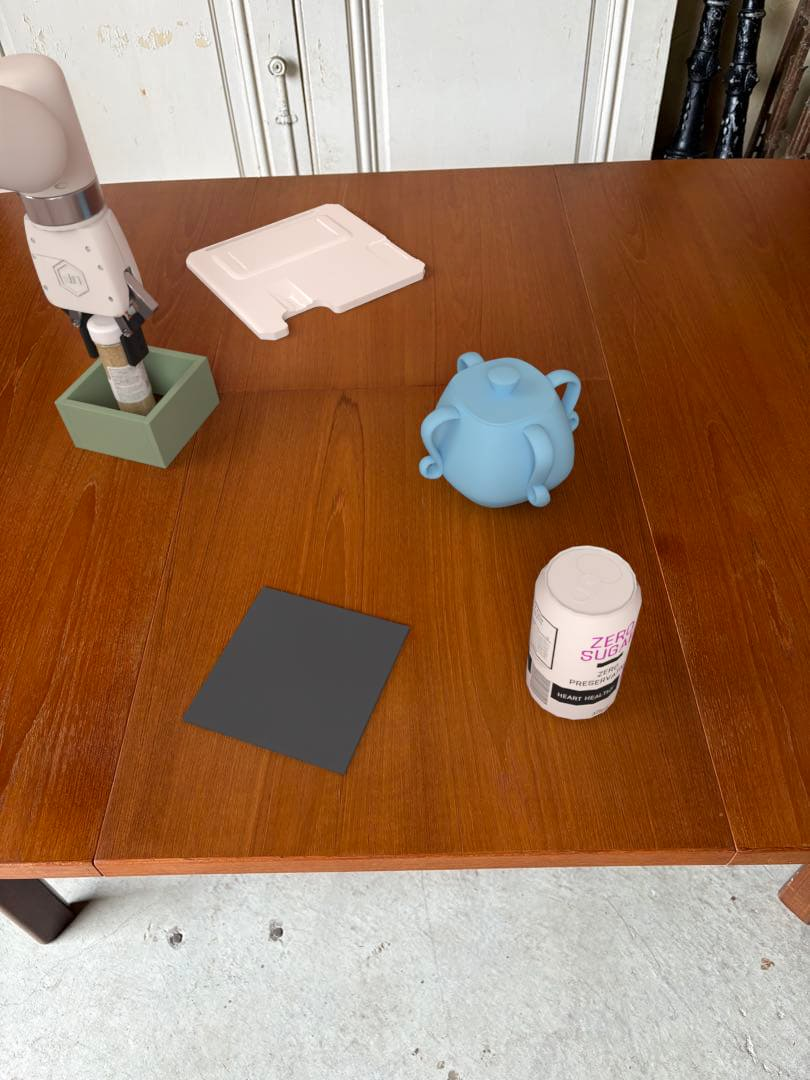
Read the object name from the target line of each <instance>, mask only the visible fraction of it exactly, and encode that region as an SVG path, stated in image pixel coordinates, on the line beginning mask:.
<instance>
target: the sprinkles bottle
mask: <svg viewBox="0 0 810 1080" xmlns="http://www.w3.org/2000/svg"><path fill="white" fill-rule="evenodd" d="M124 315H125V317H126V318H127V320H129V319H130V317H129V316H128V314H127V313H126V312H125V314H124ZM87 328H88V331H89V334H90V336H91V339H92V340H93V341H94V343H95V344H96V347H97V349H98V352H99V355H100V356H99V357H100V358H101V360H102V363H103V366H104V368H105V371H106V374H107V376H108V380H109V383H110V386H111V388H112V391H113V393H114V396H115V398H116V400H117V402H118V405H119V407H120V408H119V411H124V412H128V413H133V414H137V415H142V416H147V415H148V414H149V413H150V412H151V411H152V410H153V408H154V407H155V406H156V405H157V404H158V402H156V399H155V396H154V393H152V388H151V385H150V382H149V379H148V376H147V373H146V370H145V367H144V364H143V361H141V362H140V363H139V364H138V365H137V366H136V367H133V366H130V365H129V364H128V361H127V358H126V355H125V353H124V350H123V347H122V344H121V341H120V336H121V335H122V334H123V333H122V332H121V330H120V328H119V326H118V325H117V323H116V321H115V319H114V318H113V317H106V316H101V315H95V314H94V315H93V316H92V317H91V318H90V319H89V320H88V322H87Z"/></svg>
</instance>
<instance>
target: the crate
mask: <svg viewBox="0 0 810 1080" xmlns="http://www.w3.org/2000/svg"><path fill="white" fill-rule="evenodd" d="M147 346H148V349H149V353H148V355H147V356H146V357H145V358H144V359H143V360H142V361H143V364H144V367H145V370H146V373H147V376H148V379H149V382H150V385H151V388H152V393H153V395H154V394H155V395H158V396H159V395H160V396H163V397H162V398H161V399H160V400H159V401H158V402H157V405H156V406H155V407H154V408H153V410H152V411H151V412H150V413H149V414H148V415H147V416H142V415H137V414H133V413H128V412H124V411H121V410H120V407H119V405H118V402H117V400H116V398H115V396H114V393H113V391H112V388H111V386H110V383H109V380H108V376H107V374H106V371H105V368H104V366H103V363H102V360H101V358H100V356H99V357H97V358H96V360H95V361H94V362H93V363H92V364H91V365H90V366H89V367H88V368H87V369H86V370H85V371H84V372H83V373H82V374H81V375H80V376H79V377H78V378H77V379H76V380H75V381H74V382H73V383H72V384H71V385H69V387H68V388H67V389H66V390H65V391H64V392H63V393H61V395H60V396H59V397H58V398H56V400H55V401H54V405H55V407H56V409H57V411H58V413H59V415H60V417H61V419H62V421H63V423H64V425H65V428H66V430H67V432H68V434H69V437H70V438H71V441H72V442H73V445H74V446H75V448H78V449H82V450H85V451H90V452H95V453H99V454H103V455H108V456H111V457H114V458H115V457H116V458H119V459H123V460H128V461H133V462H136V463H140V464H143V465H144V464H145V465H148V466H151V467H152V466H153V467H158V468H162V469H168V467H169V466H170V465H171V464H172V462H173V461H174V459H175V458H176V457H177V456H178V455H179V453H180V452H181V451H182V450H183V449H184V447H185V446H186V445H187V444H188V442H189V441H190V440H191V439H192V438H193V436H194V435H195V434H196V432H197V431H198V430H199V429H200V427H201V426H202V425H203V424H204V422H205V421H206V420H207V419H208V417H209V416H210V415H211V414H212V412H213V411H214V410H215V409H216V407H217V406H219V404H220V403H221V402H220V398H219V394H218V391H217V388H216V387H217V386H216V384H215V381H214V376H213V374H212V369H211V366H210V363H209V359H208V356H204V355H199V354H193V353H187V352H185V351H184V352H183V351H178V350H173V349H168V348H163V347H158V346H153V345H148V344H147Z"/></svg>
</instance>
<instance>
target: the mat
mask: <svg viewBox="0 0 810 1080" xmlns="http://www.w3.org/2000/svg"><path fill="white" fill-rule="evenodd" d="M236 628H237V629H236V630H235V631H234V633H233V634H232V637H230V640H229V642H228V643H227V645H226V646H225V648H224V649H223V651H222V653H221V654H220V656H219V657H218V659H217V661H216V663H215V664H214V666H213V667H212V669H211V671H210V672H209V673H208V675H207V677H206V679H205V681H203V684H202V685H201V687H200V688H199V690H198V692H197V694H196V695H195V697H194V698H193V700H192V702H191V703H190V705H189V707H188V708H187V710H186V711H185V712H184V714H183V716H182V718H181V720H182V721H183V722H185V723H189V724H192V725H194V726H197V727H200V728H203V729H206V730H209V731H212V732H215V733H218V734H221V735H224V736H226V737H228V738H229V737H230V738H233V739H235V740H239V741H242V742H244V743H247V744H250V745H253V746H256V747H258V748H259V747H260V748H261V749H265V750H268V751H271V752H273V753H277V754H280V755H283V756H286V757H289V758H292V759H294V760H298V761H301V762H304V763H307V764H310V765H313V766H315V767H318V768H322V769H325V770H327V771H330V772H333V773H337V774H340V775H341V776H345V775H346V773H347V771H348V768H349V766H350V765H351V762H352V759H353V757H354V755H355V754H356V753H355V752H356V750H357V748H358V746H359V744H360V742H361V740H362V737H363V735H364V732H365V731H366V728H367V726H368V724H369V722H370V720H371V717H372V715H373V713H374V710H375V708H376V706H377V704H378V701H379V700H380V697H381V694H382V693H383V691H384V688H385V686H386V684H387V682H388V680H389V677H390V675H391V672H392V670H393V668H394V667H395V664H396V661H397V659H398V657H399V655H400V653H401V650H402V648H403V646H404V644H405V641H406V639H407V637H408V635H409V632H410V630H411V627H410V626H408V625H404V624H400V623H397V622H393V621H390V620H387V619H383V618H379V617H375V616H372V615H368V614H365V613H362V612H358V611H353V610H350V609H346V608H343V607H340V606H336V605H333V604H328V603H325V602H321V601H317V600H314V599H310V598H307V597H304V596H299V595H295V594H292V593H288V592H285V591H281V590H278V589H274V588H271V587H267V586H262V588H261V589H260V591H259V593H258V594H257V596H256V597H255V599H254V601H253V602H252V604H251V605H250V607H249V608H248V610H247V611H246V613H245V615H244V617H243V619H242V620H241V622H240V624H239V625H238V627H236Z"/></svg>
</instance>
